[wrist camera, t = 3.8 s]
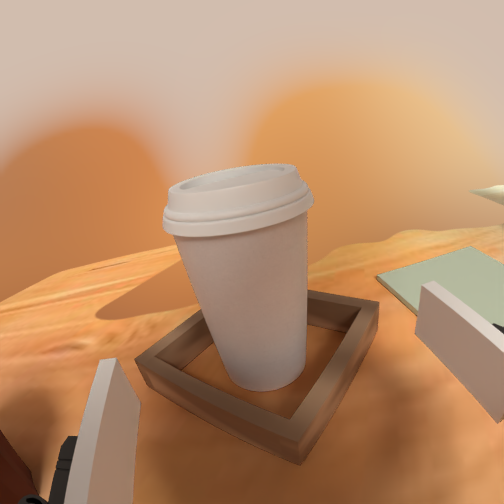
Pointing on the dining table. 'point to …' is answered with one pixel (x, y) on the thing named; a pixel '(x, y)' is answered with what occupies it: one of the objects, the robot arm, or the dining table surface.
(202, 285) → the coffee cup
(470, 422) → the dining table surface
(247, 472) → the dining table surface
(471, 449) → the dining table surface
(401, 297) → the mat
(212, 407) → the square tray
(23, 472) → the muffin
